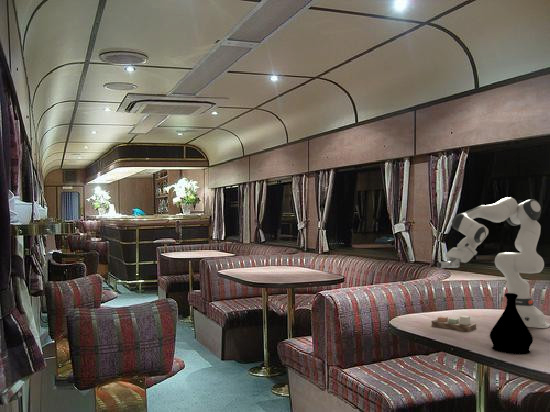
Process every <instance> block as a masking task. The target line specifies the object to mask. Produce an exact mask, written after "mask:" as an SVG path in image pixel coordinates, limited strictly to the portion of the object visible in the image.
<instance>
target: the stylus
mask: <svg viewBox="0 0 550 412" xmlns="http://www.w3.org/2000/svg"><path fill="white" fill-rule="evenodd" d="M452 262H454V261H448V260H447V261H437V262H436V266H437V267H436V268H438V269H449V268H460V265H461V264H460V263H461V262H459V263H458V264H456V265H455V266H454V267H453V266H451V265H450V264H451V263H452Z"/></svg>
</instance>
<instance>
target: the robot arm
mask: <svg viewBox="0 0 550 412" xmlns="http://www.w3.org/2000/svg"><path fill="white" fill-rule="evenodd" d="M541 214H542V207H541V204H540V203H539V201H537V200H536V199H532V198H531V199H527V200H525V201H523V202H520V203H518V202H517V200H516V198H513V197H512V196H510V197H508V196H507V197H504V198H501V199H500V200H498V201H496V202H495V203H491V204H486V205H485V204H481V205H478V206H476V207H473V208H472V209H469V210H466V211H465V212H461V213H458V214H456V215H455V216H454V217H453V218H452V221H451V224H452V229H454V230H456V231H457V232H460V233H461V234H462V235H464V236H465V237H463V238H462V239H461V240H460V241H459V243H457V246H456V247H452V248H451V249H449V250H448V251H447V252H446V254H445V255H444V257H445V258H446V259H447V261H454V262H452V263H451V264H450V265H451V266H453V267H454V266H455V265H456V264H458V263H464V264H466V263H468V262H469V261H471V259H473V258H474V256H476V255H477V254H478V251H477V250H476V249H477V247H478V246H480V245H481V244H482V243H483V242H484V240H485V239H486V238H487V236H489V228H487V226H485V225H484V224H482V223H479V222H478V221H476V220H474V219H478V218H481V219H484V220H487V221H490V222H492V223H501V222H505V221H506V222H507V223H508V224H509V225H510V226H513V227H515V226H520V229H519V230H518V233H517V236H516V238H515V241H514V246H515V249H516V250H517V251H519V252H513V251H512V252H509V251H508V252H507V251H505V252H499V253H497V255H496V256H495V258H494V265H495V267H496V269H498V270H499V271H500V272H501V273H502V274H503V276H504V277H505V278H504V279H505V281H506V283H507V284H506V285H507V293H515V294H517V295H518V297H517V298H516V299H515V304H516V308H517V311H518V313H519V315H520V316H521V318H522V320H523V321H524V323H525V325H526V326H527V328H528V327H529V328H534V329H536V328H538V329H547V328H549V327H550V322H546V318H545V317H546V316H545V314H544V312H543V311H541V310H540V309H539V308H537V307H536V306H534V302H535V300H534V299H532V298H531V297H530V295H531V294H530V292H531V291H530V290H531V287H530V286H531V285H530V284H529V283H530V282H528V281H527V280H526V279H524V278H522V276H521V274H538V273H541V272H542V271H543V269H544V268H545V261H544V259H543V257H542V256H541V255H540V254H539V253H538V252H537V246H538V242H539V239H540V236H541V228H542V226H541V224H540V223H539V222H538V221H539V219H540V218H541ZM520 273H521V274H520Z"/></svg>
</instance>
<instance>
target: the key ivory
mask: <svg viewBox="0 0 550 412" xmlns="http://www.w3.org/2000/svg"><path fill="white" fill-rule="evenodd" d="M459 321H460V324H462V325H469V324H470V323H471V315H470V316H468V315H459Z"/></svg>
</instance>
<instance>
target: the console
mask: <svg viewBox="0 0 550 412" xmlns="http://www.w3.org/2000/svg"><path fill="white" fill-rule="evenodd" d="M431 326H432V327H436V328H445V329H448V328H449V330H450V329H451V330H455V331H462V332H472V331H474V330H477V324H476V323H474V322H473V323H472V322H470V324H469V325H462V324H460V320H459V323H458V324H454V323H449V319H448V321H447V322H440V321H438V318H437V319H434V320H432V321H431Z"/></svg>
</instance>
